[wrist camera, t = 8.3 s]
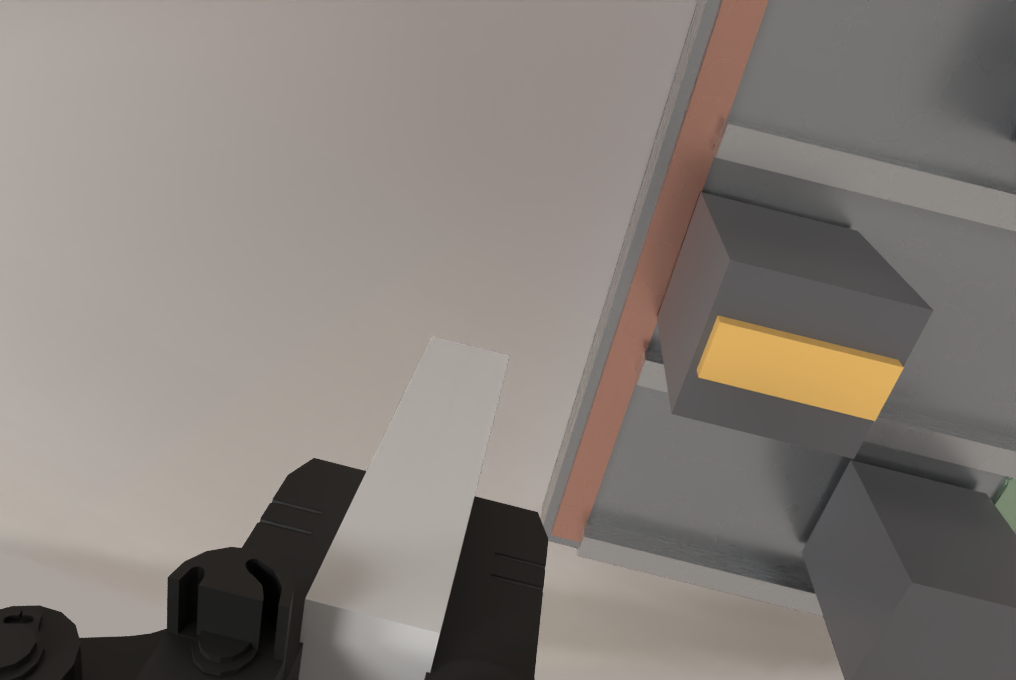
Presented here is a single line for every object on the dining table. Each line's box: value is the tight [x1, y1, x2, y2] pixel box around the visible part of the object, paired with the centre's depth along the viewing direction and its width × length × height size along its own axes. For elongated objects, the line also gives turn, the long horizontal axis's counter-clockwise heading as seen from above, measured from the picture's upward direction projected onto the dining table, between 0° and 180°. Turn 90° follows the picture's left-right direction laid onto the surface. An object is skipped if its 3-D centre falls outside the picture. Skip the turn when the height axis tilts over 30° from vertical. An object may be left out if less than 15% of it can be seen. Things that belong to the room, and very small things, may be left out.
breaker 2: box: [802, 460, 1016, 680], centre depth 25 cm, size 5×4×6 cm
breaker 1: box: [657, 192, 934, 459], centre depth 21 cm, size 5×4×6 cm
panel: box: [541, 0, 1016, 616], centre depth 25 cm, size 17×26×3 cm, turn 168°
